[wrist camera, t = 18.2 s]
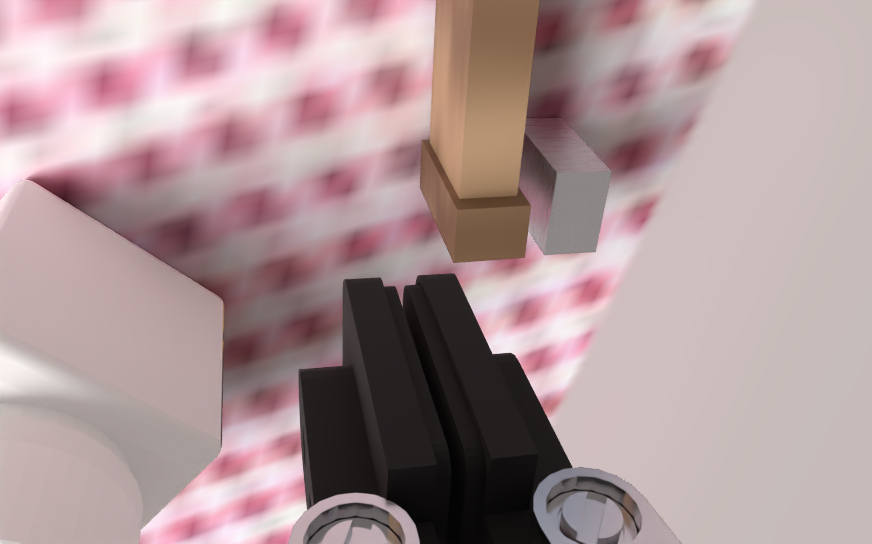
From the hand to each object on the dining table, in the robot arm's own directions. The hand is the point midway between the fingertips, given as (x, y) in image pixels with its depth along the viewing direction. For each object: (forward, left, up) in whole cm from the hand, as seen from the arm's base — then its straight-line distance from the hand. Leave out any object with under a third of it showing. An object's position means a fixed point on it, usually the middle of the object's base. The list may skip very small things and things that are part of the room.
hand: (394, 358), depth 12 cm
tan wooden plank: (+2, -4, -13) cm, 13 cm away
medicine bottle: (-7, +8, -13) cm, 17 cm away
